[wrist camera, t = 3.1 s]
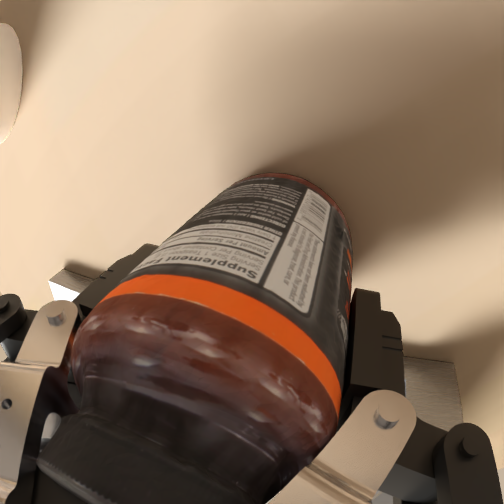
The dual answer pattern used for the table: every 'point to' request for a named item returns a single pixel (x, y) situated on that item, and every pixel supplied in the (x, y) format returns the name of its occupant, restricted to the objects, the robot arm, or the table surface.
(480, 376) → the table surface
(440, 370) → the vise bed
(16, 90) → the cylinder with rectangular tab
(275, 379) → the supplement bottle
